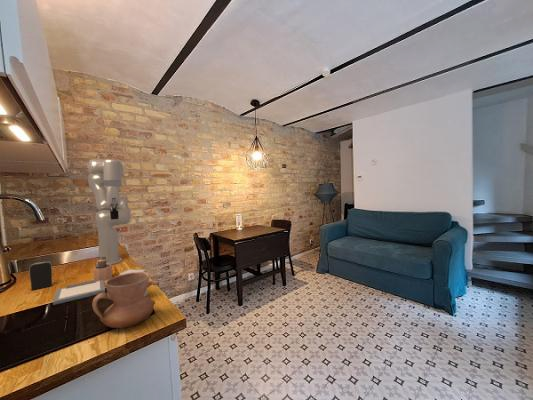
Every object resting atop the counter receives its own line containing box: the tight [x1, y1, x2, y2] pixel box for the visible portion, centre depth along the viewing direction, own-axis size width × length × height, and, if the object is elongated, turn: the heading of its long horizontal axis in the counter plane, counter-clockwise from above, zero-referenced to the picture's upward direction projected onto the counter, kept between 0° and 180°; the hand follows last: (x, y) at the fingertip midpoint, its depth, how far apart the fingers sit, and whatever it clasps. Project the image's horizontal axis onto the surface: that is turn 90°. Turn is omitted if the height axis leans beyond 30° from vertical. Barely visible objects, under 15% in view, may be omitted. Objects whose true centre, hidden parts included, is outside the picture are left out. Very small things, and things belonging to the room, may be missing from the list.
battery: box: [28, 260, 53, 291], centre depth 100 cm, size 7×4×11 cm, turn 132°
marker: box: [97, 256, 107, 269], centre depth 109 cm, size 4×4×10 cm
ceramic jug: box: [91, 272, 158, 329], centre depth 74 cm, size 18×14×14 cm
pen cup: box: [93, 264, 113, 282], centre depth 109 cm, size 7×7×6 cm
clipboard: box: [52, 279, 106, 306], centre depth 95 cm, size 14×16×2 cm
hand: (114, 217), depth 114 cm, fingers open, 9 cm apart
